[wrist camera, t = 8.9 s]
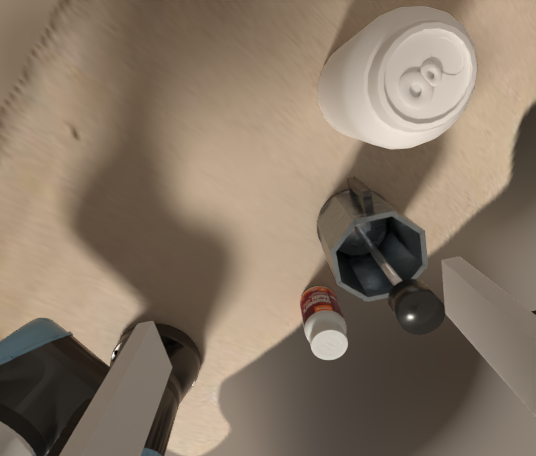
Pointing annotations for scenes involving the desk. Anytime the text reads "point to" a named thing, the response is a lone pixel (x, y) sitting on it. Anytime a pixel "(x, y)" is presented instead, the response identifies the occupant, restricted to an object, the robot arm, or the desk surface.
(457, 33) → the can
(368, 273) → the grey octagonal container
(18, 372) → the robot arm
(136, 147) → the desk surface
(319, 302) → the pill bottle
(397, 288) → the plunger
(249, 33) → the desk surface
